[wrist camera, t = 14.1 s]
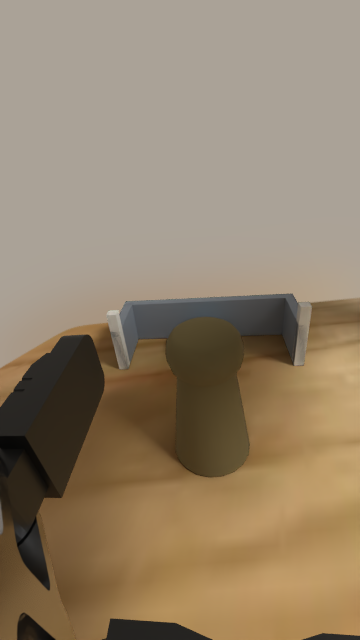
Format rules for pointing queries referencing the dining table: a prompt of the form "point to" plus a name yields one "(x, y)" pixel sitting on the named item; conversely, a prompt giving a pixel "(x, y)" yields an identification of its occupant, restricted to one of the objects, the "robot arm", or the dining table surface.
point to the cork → (208, 396)
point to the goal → (240, 311)
